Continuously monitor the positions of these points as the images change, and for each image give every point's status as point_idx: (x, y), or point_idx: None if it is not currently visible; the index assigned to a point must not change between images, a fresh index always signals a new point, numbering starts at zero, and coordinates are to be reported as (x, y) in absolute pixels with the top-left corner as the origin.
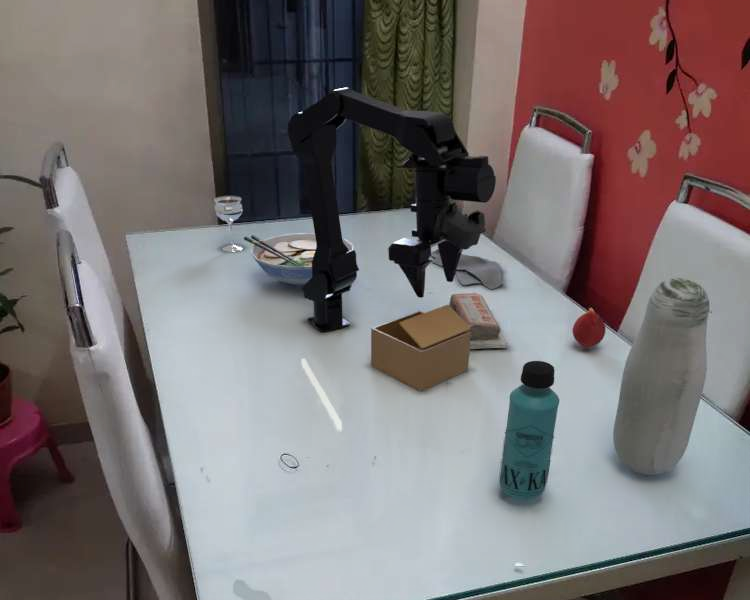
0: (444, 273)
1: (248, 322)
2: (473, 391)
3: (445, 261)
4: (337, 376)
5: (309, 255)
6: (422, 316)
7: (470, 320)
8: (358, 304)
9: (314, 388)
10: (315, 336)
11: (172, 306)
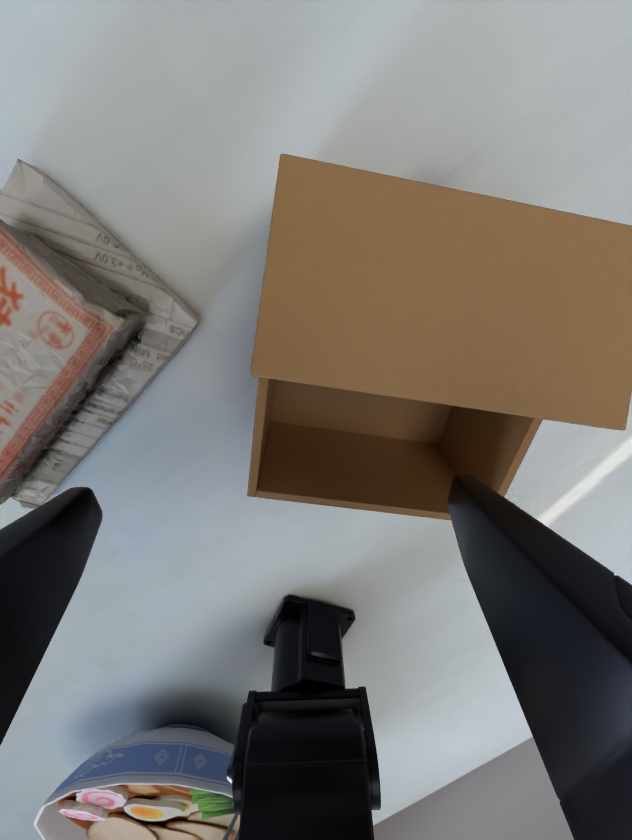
0: (80, 574)
1: (398, 700)
2: (425, 54)
3: (2, 676)
4: (530, 471)
5: (161, 811)
6: (480, 390)
7: (75, 339)
8: (182, 639)
9: (611, 472)
10: (375, 608)
11: (416, 776)
